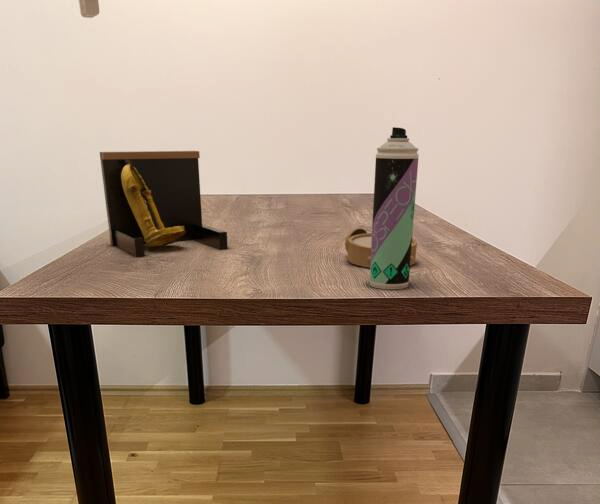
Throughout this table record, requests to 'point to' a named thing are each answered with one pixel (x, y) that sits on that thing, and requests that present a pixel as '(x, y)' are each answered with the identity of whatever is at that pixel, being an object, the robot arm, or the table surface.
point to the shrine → (146, 210)
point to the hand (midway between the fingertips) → (90, 16)
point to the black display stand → (157, 197)
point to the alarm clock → (366, 248)
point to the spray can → (393, 211)
